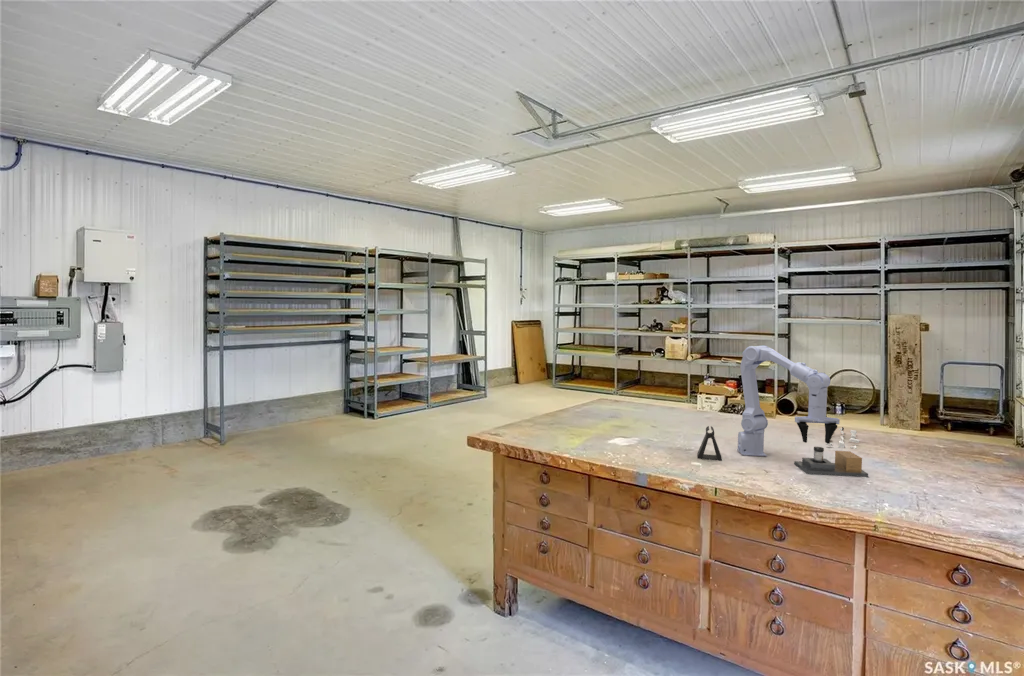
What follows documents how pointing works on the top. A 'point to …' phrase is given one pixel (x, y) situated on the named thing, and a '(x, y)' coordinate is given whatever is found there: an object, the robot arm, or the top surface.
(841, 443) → the miniature set
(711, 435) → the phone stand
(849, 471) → the square socket plate
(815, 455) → the shiny metal cylinder
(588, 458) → the top surface
